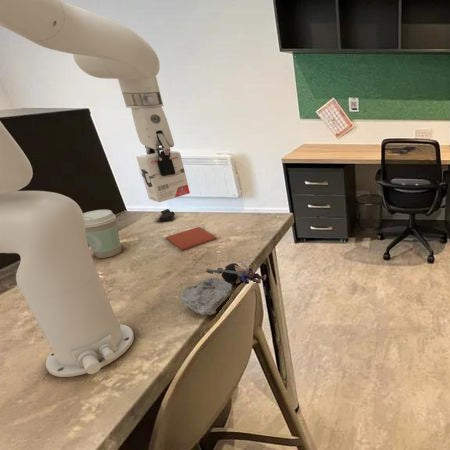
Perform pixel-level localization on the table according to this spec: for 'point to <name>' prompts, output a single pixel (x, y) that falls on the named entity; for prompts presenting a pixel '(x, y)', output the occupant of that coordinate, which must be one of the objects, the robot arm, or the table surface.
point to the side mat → (190, 238)
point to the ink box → (163, 178)
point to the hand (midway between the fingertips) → (163, 171)
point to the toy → (238, 274)
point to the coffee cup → (102, 233)
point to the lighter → (166, 215)
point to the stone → (206, 295)
